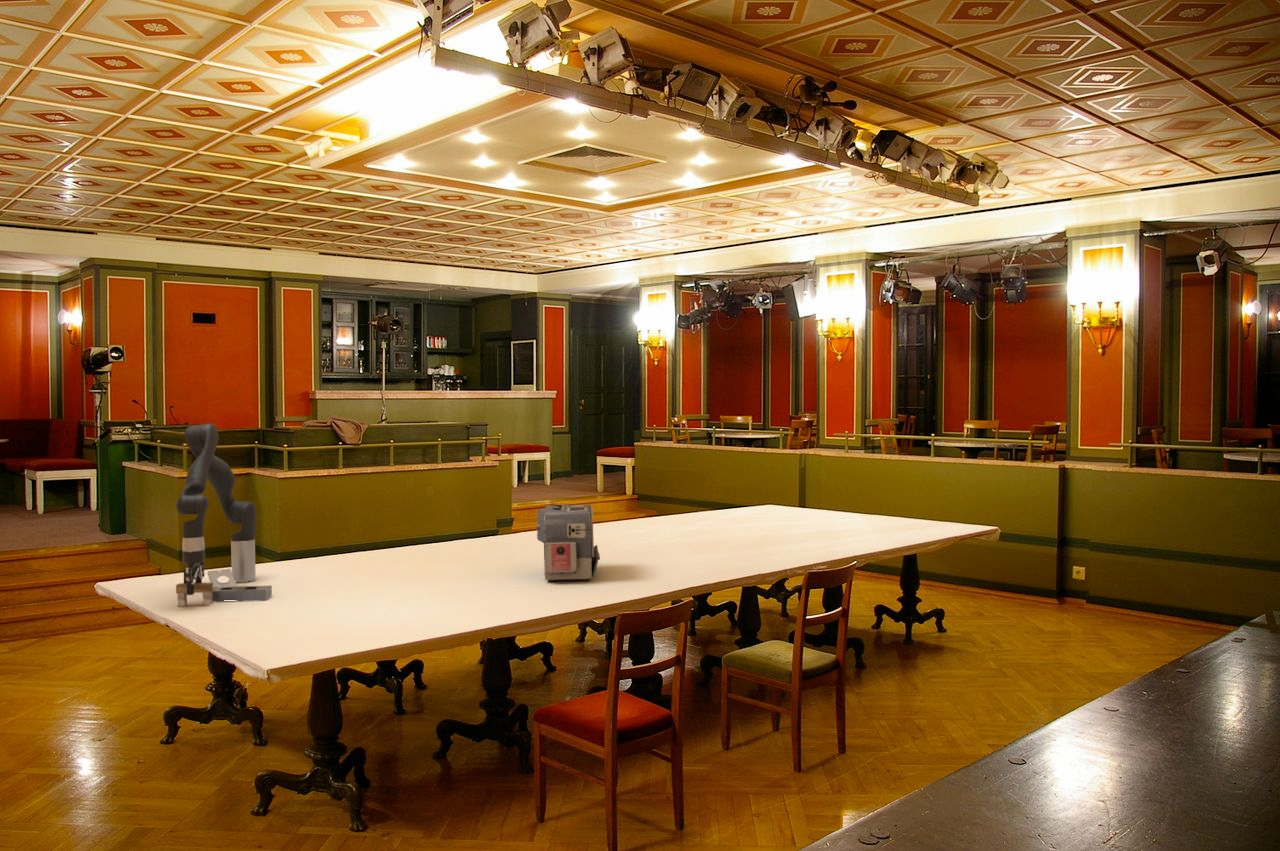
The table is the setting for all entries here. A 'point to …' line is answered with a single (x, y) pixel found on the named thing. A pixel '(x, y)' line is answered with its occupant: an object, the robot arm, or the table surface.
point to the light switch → (222, 578)
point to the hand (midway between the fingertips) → (194, 592)
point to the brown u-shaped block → (194, 592)
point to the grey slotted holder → (241, 593)
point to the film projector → (567, 542)
